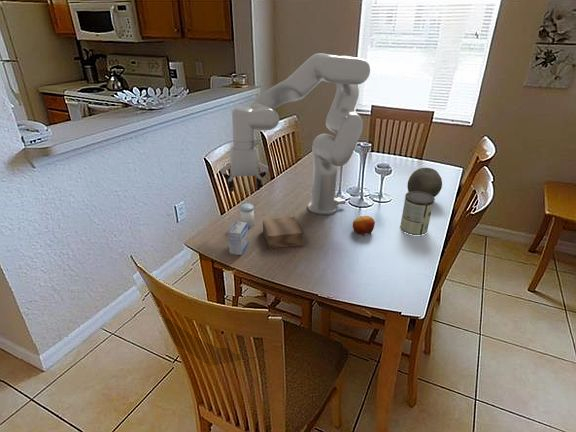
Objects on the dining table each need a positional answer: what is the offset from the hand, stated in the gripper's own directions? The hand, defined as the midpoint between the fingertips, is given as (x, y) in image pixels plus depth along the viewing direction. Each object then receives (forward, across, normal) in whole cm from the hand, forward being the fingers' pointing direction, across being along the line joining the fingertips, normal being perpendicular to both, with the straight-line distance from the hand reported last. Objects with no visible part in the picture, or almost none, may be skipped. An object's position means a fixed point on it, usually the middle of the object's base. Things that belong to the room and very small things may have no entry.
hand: (245, 189), depth 137 cm
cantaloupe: (+14, -80, -7) cm, 81 cm away
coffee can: (+14, -63, +16) cm, 66 cm away
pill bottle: (+15, -1, 0) cm, 15 cm away
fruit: (+15, -43, +14) cm, 47 cm away
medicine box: (+16, +4, +16) cm, 23 cm away
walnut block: (+15, -12, +12) cm, 22 cm away
